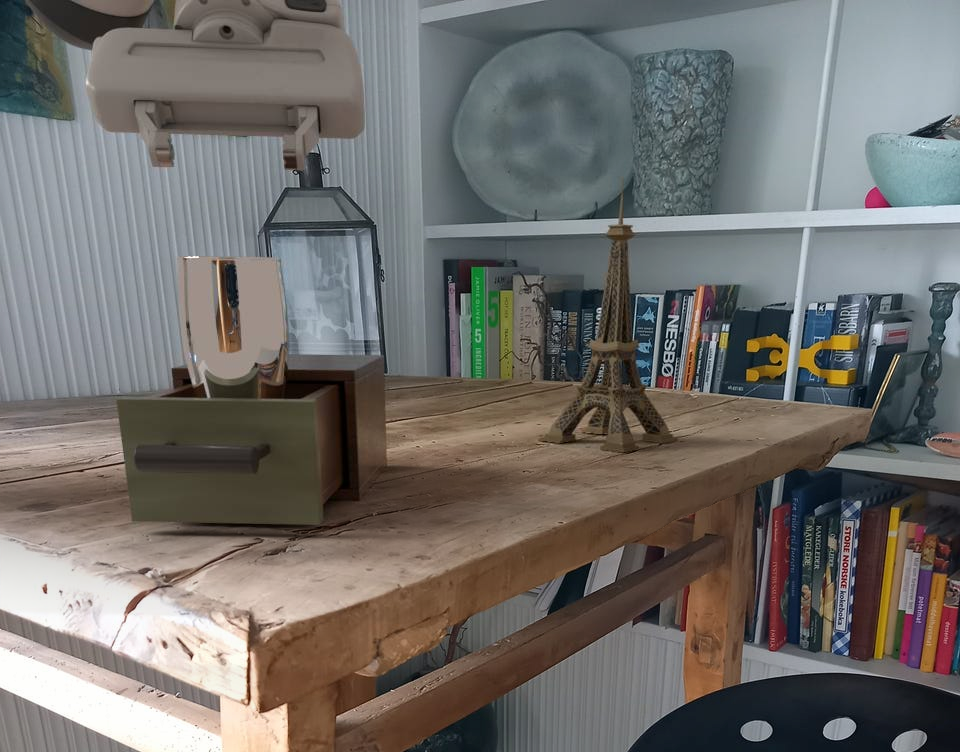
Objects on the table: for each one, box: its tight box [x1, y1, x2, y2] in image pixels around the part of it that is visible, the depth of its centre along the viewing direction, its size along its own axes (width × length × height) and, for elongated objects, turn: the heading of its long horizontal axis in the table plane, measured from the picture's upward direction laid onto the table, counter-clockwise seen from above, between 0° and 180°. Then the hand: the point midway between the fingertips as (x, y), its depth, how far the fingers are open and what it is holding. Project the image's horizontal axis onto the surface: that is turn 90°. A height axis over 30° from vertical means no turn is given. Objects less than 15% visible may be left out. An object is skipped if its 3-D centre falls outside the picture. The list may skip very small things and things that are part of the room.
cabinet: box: [170, 353, 388, 501], centre depth 77 cm, size 15×14×10 cm
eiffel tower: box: [538, 178, 679, 453], centre depth 94 cm, size 11×11×25 cm
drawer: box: [116, 382, 347, 526], centre depth 63 cm, size 18×12×8 cm
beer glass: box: [176, 255, 290, 399], centre depth 63 cm, size 7×7×15 cm
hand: (227, 161), depth 68 cm, fingers open, 8 cm apart
